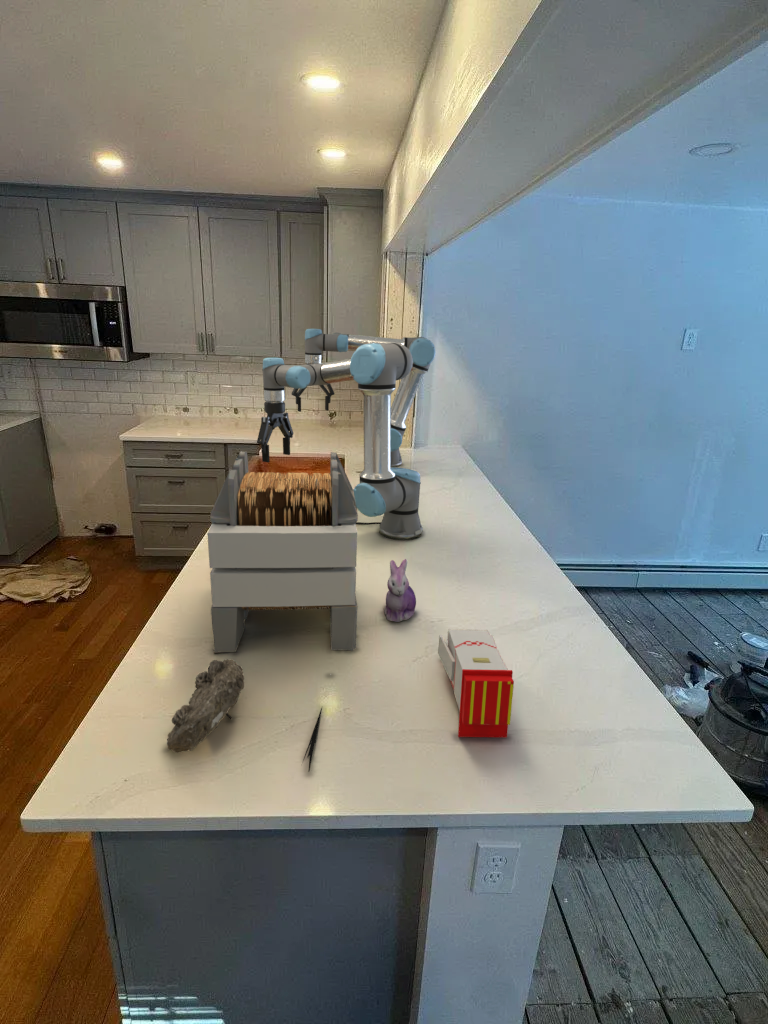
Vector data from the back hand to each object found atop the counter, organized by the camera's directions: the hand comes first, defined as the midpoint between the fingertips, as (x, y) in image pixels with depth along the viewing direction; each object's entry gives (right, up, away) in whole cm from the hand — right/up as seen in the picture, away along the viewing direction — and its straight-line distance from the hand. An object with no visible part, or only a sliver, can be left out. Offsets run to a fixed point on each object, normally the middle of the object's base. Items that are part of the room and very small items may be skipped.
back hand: (313, 410), depth 266 cm
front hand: (-7, -27, -52) cm, 59 cm away
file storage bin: (+9, -74, -122) cm, 142 cm away
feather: (+21, -87, -157) cm, 181 cm away
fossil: (0, -87, -158) cm, 180 cm away
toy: (+51, -85, -147) cm, 178 cm away
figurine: (+37, -74, -118) cm, 145 cm away
